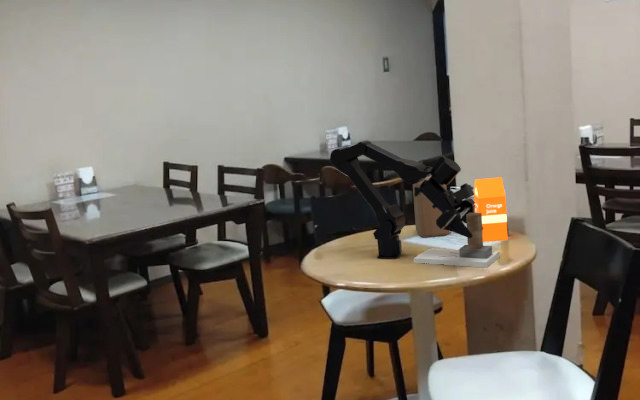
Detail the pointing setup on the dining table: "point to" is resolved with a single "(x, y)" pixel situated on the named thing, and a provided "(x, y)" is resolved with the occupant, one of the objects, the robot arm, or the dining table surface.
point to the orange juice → (491, 208)
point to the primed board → (453, 258)
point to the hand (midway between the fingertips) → (477, 233)
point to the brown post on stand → (475, 239)
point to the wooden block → (426, 215)
